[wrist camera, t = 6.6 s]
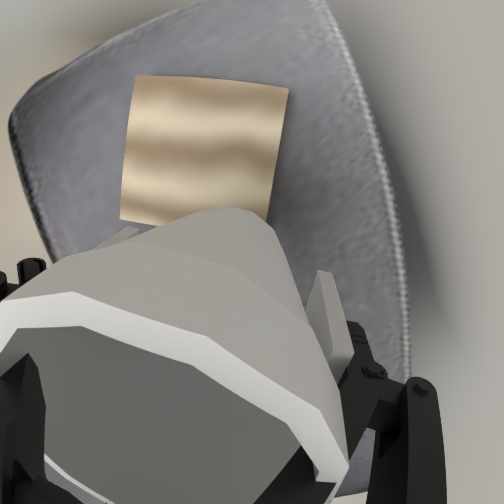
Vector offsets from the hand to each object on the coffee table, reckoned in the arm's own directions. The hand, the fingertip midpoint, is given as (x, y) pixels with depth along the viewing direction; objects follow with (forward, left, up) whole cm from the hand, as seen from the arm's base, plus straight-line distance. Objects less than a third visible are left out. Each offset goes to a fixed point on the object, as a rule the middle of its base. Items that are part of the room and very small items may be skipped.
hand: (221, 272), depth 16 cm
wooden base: (+4, +6, -20) cm, 22 cm away
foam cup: (0, 0, -2) cm, 2 cm away
